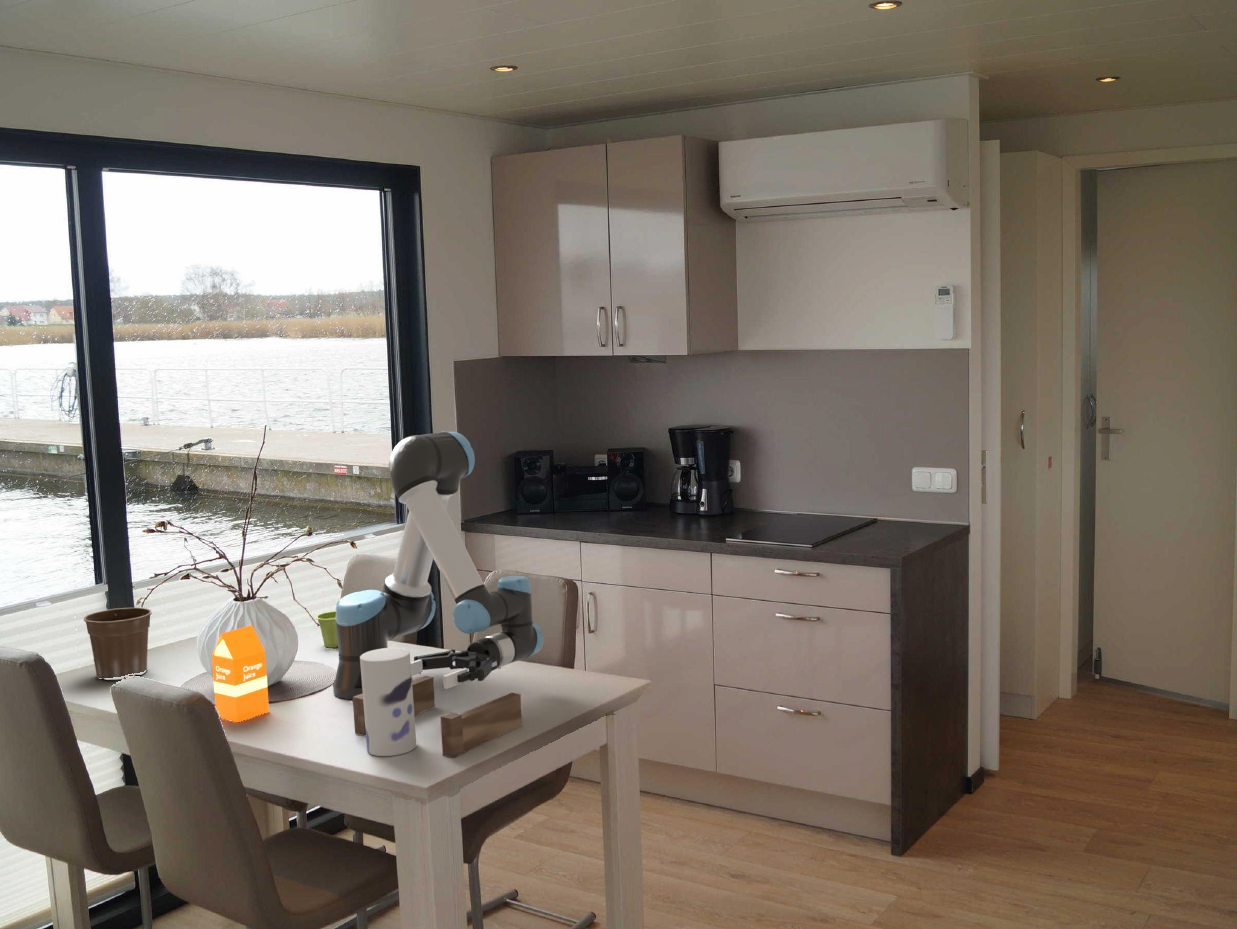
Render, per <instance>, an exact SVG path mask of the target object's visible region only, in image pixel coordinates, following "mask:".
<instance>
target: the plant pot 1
mask: <svg viewBox="0 0 1237 929" xmlns="http://www.w3.org/2000/svg"><path fill="white" fill-rule="evenodd" d="M152 614H153V611H152V609H149V608H147V607H146V608H145V607H121V608H120V607H118V608H111V609H106V610H101V611H96V612H92V613H90V614H87V615H85V616H84V617H83V621H84V622H85V624H86V625H85V626H86V630H87V634H88V636H89V638H90V639H89V640H90V645H91V649H92V657H93V663H94V668H95V669H94V670H95V674H96V677H97V676H98V677H99V678H113V677H121V676H125V675H128V674H132V673H133V674H134V673H140V672H144V671H145V670H147V671H148V650H149V649H148V648H149V647H148V644H149V643H148V642H149V628H150V627H151V615H152ZM129 676H133V675H129ZM124 678H125V677H124Z"/></svg>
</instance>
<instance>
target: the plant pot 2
mask: <svg viewBox="0 0 1237 929" xmlns="http://www.w3.org/2000/svg"><path fill="white" fill-rule="evenodd" d="M315 617H316V620H317V621H318V624H319V628H320V631H321V637H322V641H323V646H325V647H326V648H333V649H335V648H337V647H338V637H337V625H336V610H334V611H333V610H332V611H327V612H322V613H319V614H317V615H316V616H315Z"/></svg>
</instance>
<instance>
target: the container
mask: <svg viewBox="0 0 1237 929" xmlns="http://www.w3.org/2000/svg"><path fill="white" fill-rule="evenodd" d="M411 662H412V661H411V652H410V650H408V649H407V648H402V647H388V648H383V649H377V650H372V651H369V652H366V653H364V654H362V655H361V656H360V664H361V677H362V690H363V703H364V715H365V728H366V735H365V739H366V741H365V742H366V751H367V753H368V754H370V755H372V756H377V757H392V756H399V755H402V754H406V753H409V752H411V751H412V750H413V749H415V748H416V747H417V734H416V732H417V731H416V720H415V718H416V717H415V715H414V703H413V689H412V680H413V676H411Z"/></svg>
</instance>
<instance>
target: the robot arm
mask: <svg viewBox="0 0 1237 929" xmlns="http://www.w3.org/2000/svg"><path fill="white" fill-rule="evenodd" d="M475 461H476V459H475V453H474V449H473V448H472V446H471V443H470V441H469V439H467V438H466V437H465V436H464V435H463V434H462V433H459V432H456V431H445V430H441V431H439V432H434V433H426V434H419V435H418V434H415V435H410V436H406V437H405V438H403V439H402V440H400V441H399V442H398V443H397V444H396V445H395V446H394V448H393V450H392V451H391V454H390V457H389V463H388V473H389V480H390V484H391V486H392V489H393V492H394V494H395V495H396V498H397V500H398V502H399V503H400V504H404V505H406V508H407V510H408V514H407V518H406V521H405V522H406V523H405V526H404V530H403V534H402V537H401V538H402V539H401V543H400V547H399V550H398V553H397V557H396V562H395V566H394V569H393V573H391V574H389V575H387V576H386V578H385V581H384V584H383V589H382V591H381V590H378V589H366V590H361V591H354V592H352V593H349V594H347V595H345V596H343V597H342V598H340V599H339V600H338V601H337V603H336V607H335V611H336V625H337V637H338V646H337V647H338V648H337V649H338V652H337V653H338V664H337V670H336V673H335V679H334V681H333V683H332V684H333V685H332V688H333V690H332V691H333V695H335V697H337V698H340V699H345V700H346V699H347V700H353V697H354V696H357V695H360V694H362V693H363V690H362V677H361V664H360V656H361V655H362V654H364V653H366V652H369V651H372V650H377V649H383V648H389V647H388V641H391V640H393V639H396V638H400V637H403V636H405V635H409V634H414V633H415V632H418V631H420V630H421V629H424V628H425V627H427V626H428V625H429V624H430V623H431V621H432V620H433V618H434V617H435V612H436V600H434V598H435V596H434V594H433V592H432V585H431V584H430V583H429V582H428V580H429V576H430V572H431V568H432V564H433V561H434V562H435V564H436V566H437V568H438V570H439V573H440V574H441V576H442V578H443V580H444V582H445V583H446V586H447V588H448V590H449V592H450V593H451V594H450V595H451V596H452V597H453V599H454V602H455V604H456V605H455V606H454V608H453V611H452V616H453V623H454V625H455V627H456V628H457V630H459V631H460V632H461V633H463V634H468V635H469V634H470V635H471V634H475V633H479V632H483V631H487V630H488V629H490V628H492V627H496V626H497V625H499V626H500V632H497V633H496V632H495V633H493V634H489V635H487V636H485V637H482V638H479V639H477V640H474V641H472V642H470V643H469V645H468V646H467V648H466V650H461V651H456V649H453V648H452V649H450V650H446V651H440V652H435V653H429V654H422V655H417V656H414V657H413V661H410V662H411V676H412V677H413V676H415V675H418V674H422V673H423V672H424V671H428V670H436V669H447V668H449V669H450V670H456V671H453V672H450V673H448V674H445V675H443V676H442V679H443V680H442V681H443V682H442V684H443V689H444V690H448V689H450V688H453V687H455V686H459V685H461V684H463V683H464V684H465V683H466V682H469V681H471V682H473V681H476V679H477V681H478V682H482V681H485V679H486V678H487V677H488V676H489V675H490V673H492V672H493V671H495V670H500V669H502V667H504V666H506V665H509V664H511V663H515V662H518V661H521V660H523V659H525V660H526V659H527V658H529V657H531V656H533V655H535V654H537V653H538V652H540V651H541V649H542V648H543V645H544V635H543V633H542V630H541V628H540V627H539V625H537V624H536V623H534V621H533V610H532V609H533V607H532V606H533V605H532V604H533V603H532V591H531V582H530V578H528V577H527V576H524V575H508V576H502V577H500V578H499V580H498V581H497V587H496V589H497V590H493V591H490V592H489V591H488V588H487V587H486V585H485V583H484V581H483V579H482V577H481V575H480V573H479V571H478V569H477V568H476V566H475V563H474V562H473V560H472V557H471V556H470V554H469V551H468V550H467V548H466V546H465V544H464V542H463V540H462V538H461V536H460V534H459V532H458V530H457V527H456V526H455V524H454V522H453V521H452V518H451V517H450V515H449V512H448V510H447V508H448V505H449V500H450V498H451V497H452V496H454V495H456V494H457V493H458V491H459V487H460V483H461V480H462V479H464V478H466V477H468V475H471V473H472V472H473V469H474V467H475V463H476V462H475Z"/></svg>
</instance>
